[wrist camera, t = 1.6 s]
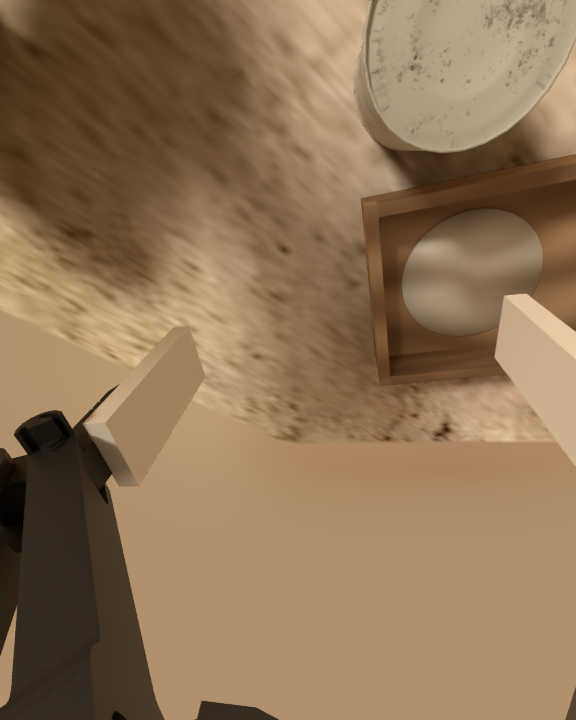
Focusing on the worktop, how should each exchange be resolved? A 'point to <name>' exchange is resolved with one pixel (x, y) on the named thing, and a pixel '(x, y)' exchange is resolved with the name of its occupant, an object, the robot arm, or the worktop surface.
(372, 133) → the grey speckled cylinder
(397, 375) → the box
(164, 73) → the worktop surface
